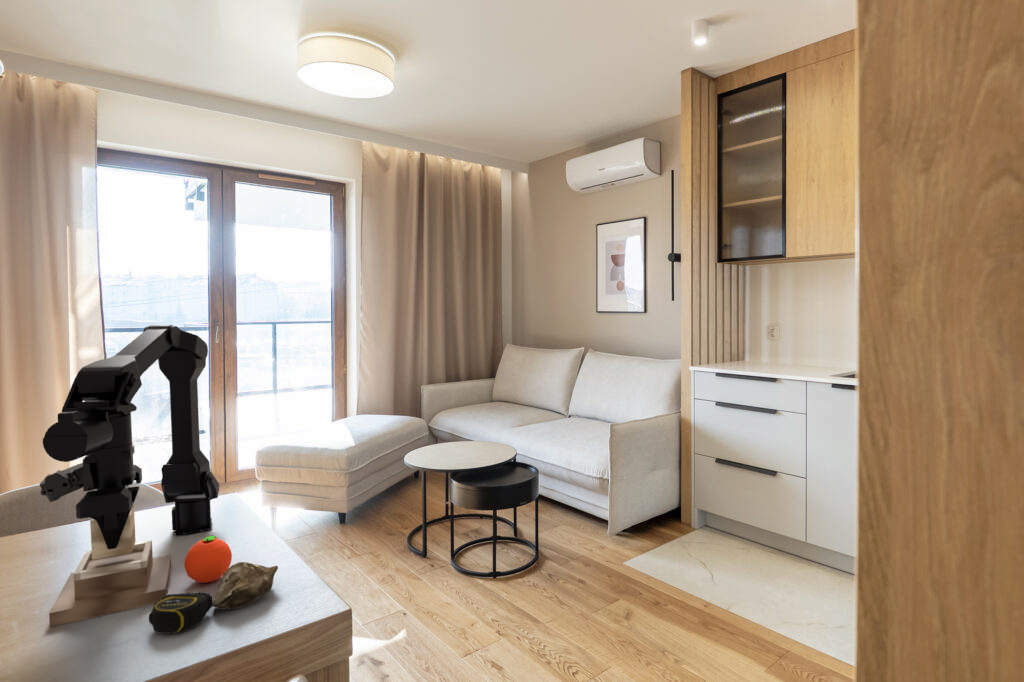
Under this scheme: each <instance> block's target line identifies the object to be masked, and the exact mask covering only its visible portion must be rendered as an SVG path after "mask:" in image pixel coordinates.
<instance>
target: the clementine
mask: <svg viewBox="0 0 1024 682" xmlns="http://www.w3.org/2000/svg"><path fill="white" fill-rule="evenodd" d="M232 559H233V553H232V550H231V548H230V546H229V545H228V543H226V541H224V540H222V539H220V538H217V536H216V535H211V536H210V535H209V536H206V537H204V538H203V539H201V540H198V541H197V542H195V543H194V544H193V545H192V546H191V547H190V548H189V550H188V551H187V554H186V555H185V558H184V563H183V566H184V570H185V572H186V574H187V577H189V578H190V579H191V580H192V581H194V582H197V583H201V584H203V583H204V584H205V583H212V582H214V581H217V580H220V579H221V577H222V576H223V574H224V573H225V572H226V571H227V569H229V568H230V567H231V563H232Z"/></svg>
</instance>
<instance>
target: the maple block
mask: <svg viewBox="0 0 1024 682" xmlns="http://www.w3.org/2000/svg"><path fill="white" fill-rule="evenodd" d="M89 522H90V524H89V525H90V545H91V551H92V560H94V559H100V558H105V557H111V556H116V555H122V554H128V553H132V551H133V548H134V545H135V543H136V522H135V505H134V504H133V506H132V508H131V511H130V513H129V516H128V519H127V521H126V524H125V527H124V529H123V532H122V535H121V537H120V540H119V543H118V545H117V548H115V549H108V548H107V546H106V543H105V540H104V538H103V535H102V533H101V530H100V528H99V525H98V523H97V521H96V520H94V519H92V518H90V520H89Z"/></svg>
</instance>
